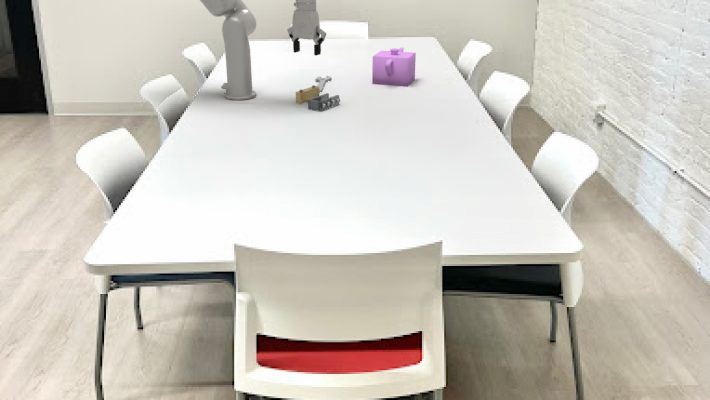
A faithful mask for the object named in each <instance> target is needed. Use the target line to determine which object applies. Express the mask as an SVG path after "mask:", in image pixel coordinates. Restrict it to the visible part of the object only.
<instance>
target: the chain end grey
mask: <svg viewBox="0 0 710 400" xmlns="http://www.w3.org/2000/svg"><path fill="white" fill-rule="evenodd" d="M319 97H320V101H322V100H324V99H327V98H330V103H331V104H330V108H333V107H336V106H338V104H339V105H340V102H341V99H340V95H339V94H336V95H333V96H330V94H329V93H328V92H326V93H323V94H319ZM335 105H336V106H335ZM332 106H333V107H332Z"/></svg>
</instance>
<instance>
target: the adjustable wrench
mask: <svg viewBox="0 0 710 400" xmlns="http://www.w3.org/2000/svg"><path fill="white" fill-rule="evenodd" d="M331 80H332V76H330V75H326V77H322V76H317V77H316V78H315V82H317V83H318V84H317V86H318V87H319V94H321V93H320V92H322V93H323V90H324V88H325V85H326V84H327V83H329V82H328V81H330V82H332V81H331ZM326 82H327V83H326ZM323 87H324V88H323Z"/></svg>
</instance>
